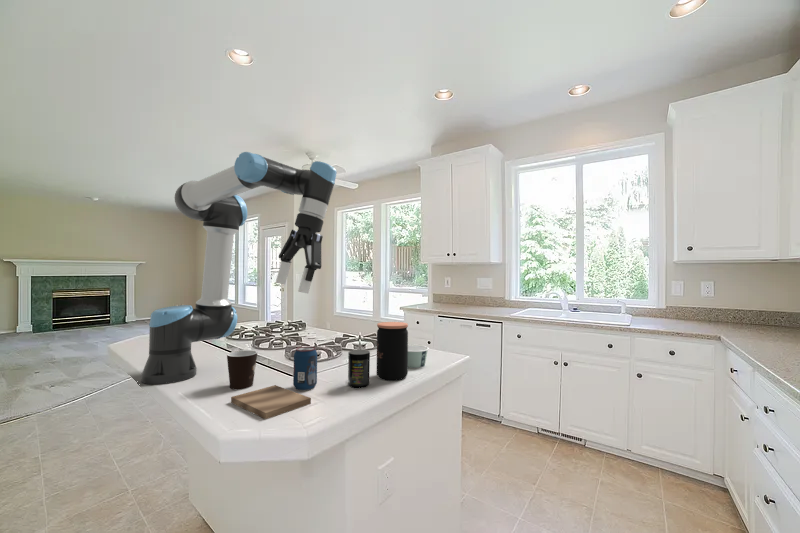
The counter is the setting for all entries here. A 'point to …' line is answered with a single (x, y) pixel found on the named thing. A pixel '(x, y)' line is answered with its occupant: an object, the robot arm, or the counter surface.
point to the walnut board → (270, 401)
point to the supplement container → (358, 368)
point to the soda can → (305, 368)
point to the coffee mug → (241, 368)
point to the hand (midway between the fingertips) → (291, 287)
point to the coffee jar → (392, 350)
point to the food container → (417, 355)
